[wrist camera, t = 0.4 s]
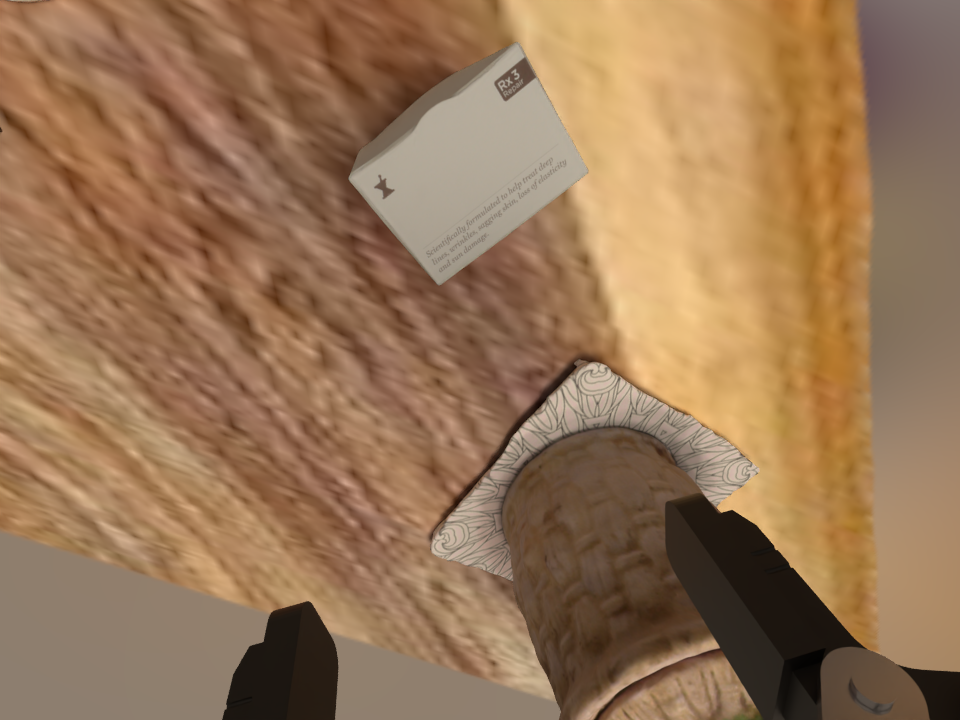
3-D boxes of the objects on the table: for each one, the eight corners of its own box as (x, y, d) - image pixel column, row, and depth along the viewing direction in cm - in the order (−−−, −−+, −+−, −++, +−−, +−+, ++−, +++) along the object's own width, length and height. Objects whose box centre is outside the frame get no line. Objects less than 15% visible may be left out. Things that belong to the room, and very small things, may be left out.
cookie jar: (417, 539, 49) (471, 1134, 21) (580, 341, 42) (986, 844, 14) (598, 605, 59) (797, 1069, 31) (754, 454, 52) (1196, 881, 24)
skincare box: (413, 223, 35) (434, 301, 22) (353, 145, 32) (337, 183, 19) (513, 146, 34) (598, 180, 21) (460, 58, 31) (520, 35, 18)
